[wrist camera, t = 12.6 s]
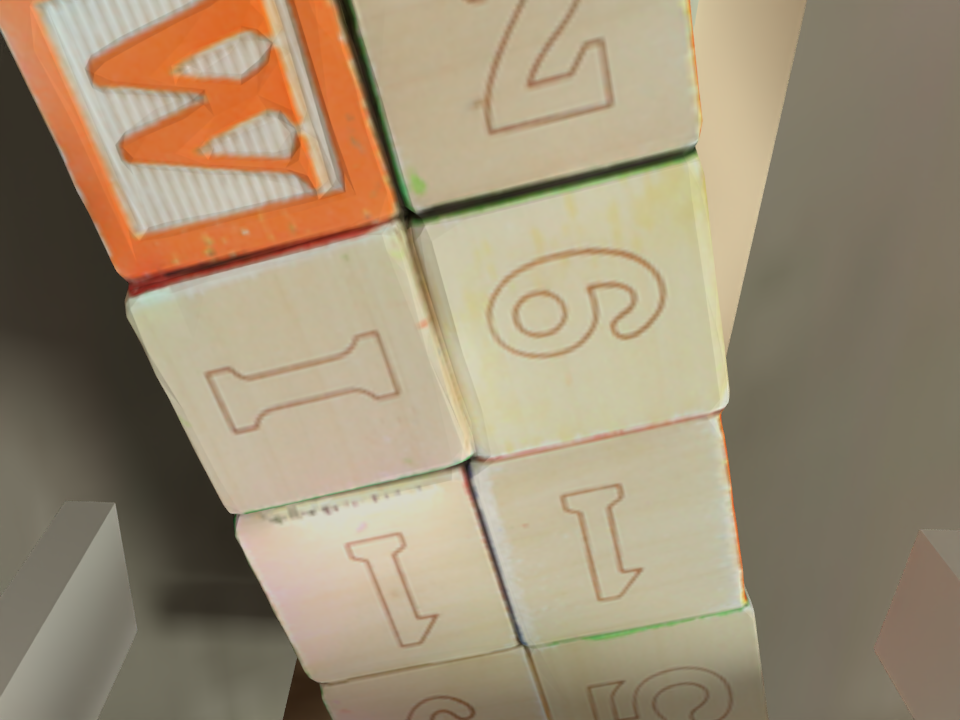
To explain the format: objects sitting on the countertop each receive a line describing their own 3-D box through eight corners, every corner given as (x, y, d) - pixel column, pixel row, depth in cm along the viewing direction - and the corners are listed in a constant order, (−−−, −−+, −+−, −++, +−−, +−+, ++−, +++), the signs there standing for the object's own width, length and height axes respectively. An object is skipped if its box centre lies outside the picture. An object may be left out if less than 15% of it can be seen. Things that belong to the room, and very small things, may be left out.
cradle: (314, 621, 30) (284, 758, 25) (275, -287, 18) (200, -364, 13) (647, 633, 30) (681, 770, 25) (835, -243, 18) (970, -302, 13)
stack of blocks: (675, 601, 27) (812, 1057, 16) (488, 634, 28) (500, 1096, 17) (549, -144, 17) (681, -244, 6) (263, -65, 18) (-54, -35, 7)
